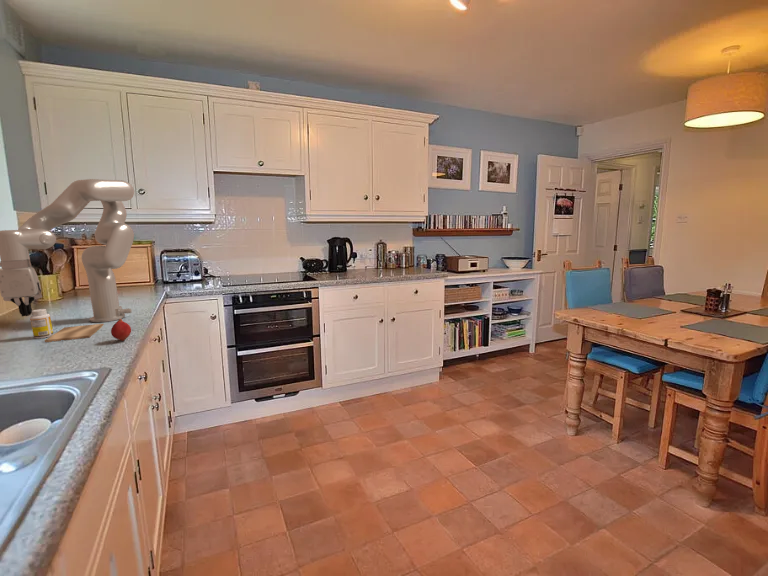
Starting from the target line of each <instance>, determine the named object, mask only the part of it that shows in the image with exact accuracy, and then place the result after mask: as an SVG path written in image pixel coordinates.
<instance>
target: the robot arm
mask: <svg viewBox="0 0 768 576" xmlns="http://www.w3.org/2000/svg"><path fill="white" fill-rule="evenodd" d="M134 195H135V190H134V187H133V185H132V184H130V183H129V181H126V180H120V179H99V178H98V179H97V178H87V179H78V180H74V181H73V182H72V183H70V184H69V185H68V186H67V187H66V188H65V189H64V190H63V191H62V192H61V194H60V195H58V196H57V198H55V200H54V201H52V203H50V204H48V205H47V206H45V207H44V208H42V209H41V210H40V211H38V212H36V213H35V214H34V215H32V216H31V217H29V218H28V219H27V220H26V221H24V223H23V224H22V225H21V226H20V227H19V228H18V229H8V230H6V229H4V230H0V268H1V270H0V297H1V298H3V299H2V300H3V301H4V302H12V303H13V304H15V305H16V306H17V307H18V311H19V312H18V313H19V314H20V315H21V317H28V316H30V315H31V316H32V311H33V309H32V303H33V302H34V301H35V300H38V299H41V298H43V295H42V288H41V287H42V286H41V283H40V280H39V277H38V274H37V272H36V269H35V268H34V267H32V263H31V258H30V253H29V252H30V251H29V250H47V249H49V248H52V247H53V246H55V244H56V241H57V238H56V235H55V234H54V233H53V232H52V231H51V230H52V229H55V228H56V227H58V226H60V225H64V224H67V223H69V222H71V221H73V220H75V219H76V218H77V217H78V215H79V214H81V212H82V211H83V210H84V209H85V208H86V207H87V206H88V205H89V204H90V203H91V202H98V201H99V202H100V203H101V204H102V208H103V209H102V215H101V216H100V220H99V222H98V224H97V227H96V229H95V232H94V239H95V241H96V242H98V243H99V244H101V245H93V246H88V247H87V248H85V249H84V250H83V252H82V253H81V262H82V266H83V267H84V270H85V273H86V277H87V283H88V289H89V295H90V296H89V297H90V303H91V308H92V315H93V316H91V317H89V322H90V323H106V322H113V321H118V320H119V319H124V318H125V317H126V314H131V313H132V308H128V307H127V308H123V306H121V305H120V302H119V301H120V300H119V295H118V294H119V293H118V288H117V281H116V280H117V279H116V275H115V273H114V271H113V270H116V269H119V268H121V267H123V266H124V265H125V263H126V261H127V259H128V256H129V254H130V251H131V248H132V246H133V242H134V239H135V233H134V229H132V227H131V226H130V225H128V224H127V223H126V219H127V209H126V207H125V205H124V203H123V202H126V201H127V202H128V201H130V200H131V199H132V198H133V197H134ZM23 298H24V299H23Z"/></svg>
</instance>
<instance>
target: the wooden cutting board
mask: <svg viewBox="0 0 768 576" xmlns="http://www.w3.org/2000/svg"><path fill="white" fill-rule="evenodd" d="M103 325H104V323H94V324H85V325H75V326H64V327H63V328H61V329H60V330H58V331H57V332H55V333H53V335H52V336H50V337H47V338H45V339H44V342H45V343H53V342H52V341H54V342H62V341H61V340H64V341H70V340H71V341H73V340H80V339H81V340H82V339H88V338H89V339H90V338H91V337H92V336H93V335H94V334H95V333H97V332H98V331H99V330H100V329H102V328H103V327H104V326H103ZM102 326H103V327H102ZM72 339H73V340H72Z"/></svg>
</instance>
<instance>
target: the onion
mask: <svg viewBox="0 0 768 576" xmlns="http://www.w3.org/2000/svg"><path fill="white" fill-rule="evenodd" d="M111 327H112V328H111V330H110V334H111V336H112V337H113V338H115V339H116V340H118V341H121V342H124V341H126V340H127V338H129V336H130V335H131V333H132V328H131V325H130V324H128V322H125V321H123V318H121V319H118V320H116V322H115V323H113V325H112V326H111Z"/></svg>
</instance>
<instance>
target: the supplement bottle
mask: <svg viewBox="0 0 768 576" xmlns="http://www.w3.org/2000/svg"><path fill="white" fill-rule="evenodd" d="M29 319H30V325H31V330H32V335H33V338H34V339H40V338H41V339H47V338H49V337H51V336H52V335H54V329H53V324H52V320H51V319H52V318H51V315H50V314H49V313H48V311H47V309H46V308H39V309H34V310H33V309H32V313H31V316H30V317H29ZM46 337H47V338H46Z"/></svg>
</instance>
